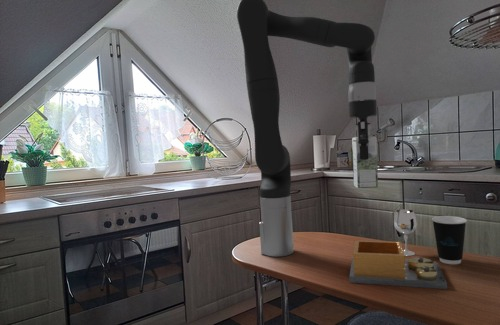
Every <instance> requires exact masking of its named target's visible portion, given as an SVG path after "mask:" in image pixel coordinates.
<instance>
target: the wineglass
mask: <svg viewBox="0 0 500 325" xmlns="http://www.w3.org/2000/svg"><path fill="white" fill-rule="evenodd" d="M393 225H394V228H395V230H396V231H397V232H399V233H400V234H403V239H404V249H403V252H404V255H405V256H406V257H411V256H415V255H416V252H414V251H411V250H409V249H408V239H409V238H408V237H409V236H408V235H409V234H412V233H414V232H415V230H416V228H417V217H416V214H415V211H414V210H412V209H405V208H404V209H397V210H395V213H394V219H393Z"/></svg>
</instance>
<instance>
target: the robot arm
mask: <svg viewBox="0 0 500 325" xmlns="http://www.w3.org/2000/svg"><path fill="white" fill-rule="evenodd" d="M236 20H237V22H238V23H237V24H238V28H239V30H240V36H241V40H242V45H243V53H244V55H243V56H244V70H245V80H246V81H245V82H246V89H247V96H248V102H249V108H250V114H251V120H252V124H253V131H254V132H253V133H254V155H255V156H254V158H255V164H256V167H258V169H259V170H260V177H261V179H260V180H261V182H260V185H259V186H260V187H259V202H260V203H259V204H260V219H261V221H260V222H259V236H260V239H259V240H260V254H261V255H266V256H268V257H286V256H290V255H291V254H293V253H294V250H295V249H294V247H295V246H294V232H293V219H292V218H293V217H292V216H293V215H292V201H291V200H292V198H291V196H292V195H291V185H292V175H291V174H292V172H291V157H290V152H289V150H288V148H287V147H286V146H285V145H283V142H282V137H281V132H280V127H279V117H280V104H281V103H280V101H281V99H280V98H281V97H280V88H279V81H278V80H279V79H278V74H277V69H276V64H275V62H274V59H273V55H272V54H273V53H272V51H271V46H270V44H269V43H270V42H269V37H276V38H284V39H285V38H286V39H292V40H294V41H295V40H297V41H301V42H305V43H309V44H313V45H315V46H316V45H317V46H320V47H326V48H334V47H340V48H345V49H346V56H347V63H348V74H347V75H348V90H347V91H348V95H347V96H348V97H347V98H348V115H349V118H350V119H351V118H352V119H355V118H358V121H357V123H355V130H356V137H357V138H359V141H358V144H359V146H360V159H361V160H367V159H368V144H369V143H368V142H369V140H368V139H369V138H370V136H371V128H372V127H371V122H368V119H369V117H370V118H371V117H376V116H377V115H378V110H377V109H378V108H377V106H378V105H377V88H376V79H375V77H376V76H375V75H376V74H375V66H374V64H373V62H372V60H373V59H372V55H373V54H372V47H373V44H374V42H375V39H376V38H375V37H376V35H375V32H374V30H373V28H371V27H370V26H368V25H366V24H362V23H356V22H337V21H333V20H330V19H326V18H320V17H316V16H315V17H314V16H289V15H288V16H287V15H283V14H279V13H277V12H275V11H274V12H273V11H271V10H269V9H268V5H267V4H266V2H265V1H264V0H240V1H239V3H238V5H237V8H236ZM361 138H366V139H361ZM366 145H367V146H366Z"/></svg>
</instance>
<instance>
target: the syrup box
mask: <svg viewBox="0 0 500 325" xmlns="http://www.w3.org/2000/svg"><path fill="white" fill-rule="evenodd" d="M361 139H366V138H361ZM351 140H352V141H351V142H352V145H351V146H352V147H351V148H352V169H353V174H352V175H353V178H352V179H353V186H354V187H355V188H357V189H372V188H377V189H378V188H379V182H378V181H379V179H378V178H379V176H378V174H379V172H378V171H379V170H378V141H377V136H376V135H370V138H369V139H368V140H369V142H368V143H369V144H368V159H367V160H361V159H360V146H359V144H358V141H359V138H357V136H354V137H352V138H351ZM366 146H367V145H366Z"/></svg>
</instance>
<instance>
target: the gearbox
mask: <svg viewBox="0 0 500 325" xmlns="http://www.w3.org/2000/svg"><path fill="white" fill-rule="evenodd" d="M353 245H354V246H353V254H352V258H351V259H352V260H351V263H350V264H351V265H350V271H349V278H348V279H349V283H350V284H351V283H352V284H354V283H355V284H364V285H365V284H368V285H383V286H396V287H398V286H399V287H412V288H425V289H427V288H428V289H441V290H442V289H443V290H447V289H448V282H447V280H446V278H445V276H444V274H443V271H442V269H441V268H440V266H439V265H438V262H437V261H434V260H431V259H429V258H426V257H425V258H424V257H420V256H419V257H411V258H409V259H406V257H405V255H404V252H403V251H404V249H403V245H402V241H390V240H389V241H387V240H386V241H384V240H383V241H382V240H354V244H353Z"/></svg>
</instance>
